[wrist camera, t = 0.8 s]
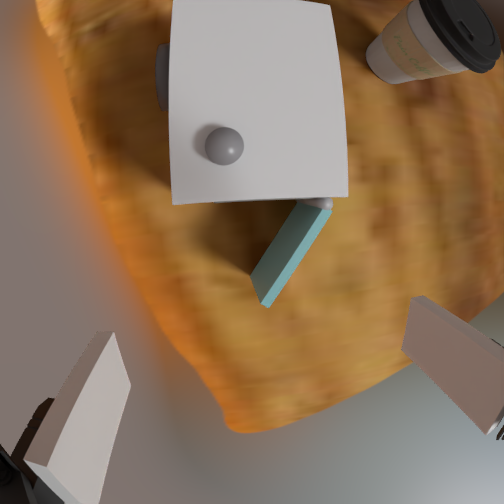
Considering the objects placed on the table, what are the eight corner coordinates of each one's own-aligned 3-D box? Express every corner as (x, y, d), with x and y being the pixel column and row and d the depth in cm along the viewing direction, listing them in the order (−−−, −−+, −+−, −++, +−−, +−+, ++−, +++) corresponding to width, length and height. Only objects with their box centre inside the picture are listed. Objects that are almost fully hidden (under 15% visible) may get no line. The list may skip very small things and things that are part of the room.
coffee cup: (347, 78, 26) (435, 24, 11) (356, 18, 24) (426, -43, 9) (414, 110, 27) (510, 90, 13) (418, 51, 25) (498, 16, 11)
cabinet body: (169, 47, 23) (153, -4, 13) (299, 46, 24) (333, 0, 15) (172, 201, 27) (150, 211, 17) (308, 193, 28) (353, 201, 19)
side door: (298, 190, 28) (325, 194, 21) (314, 202, 28) (345, 209, 21) (245, 272, 29) (255, 301, 22) (262, 282, 30) (277, 313, 23)
